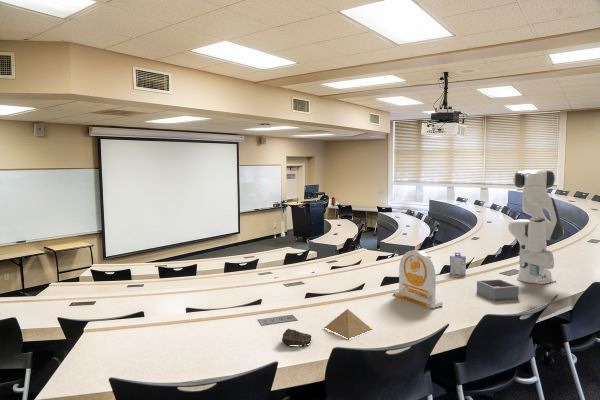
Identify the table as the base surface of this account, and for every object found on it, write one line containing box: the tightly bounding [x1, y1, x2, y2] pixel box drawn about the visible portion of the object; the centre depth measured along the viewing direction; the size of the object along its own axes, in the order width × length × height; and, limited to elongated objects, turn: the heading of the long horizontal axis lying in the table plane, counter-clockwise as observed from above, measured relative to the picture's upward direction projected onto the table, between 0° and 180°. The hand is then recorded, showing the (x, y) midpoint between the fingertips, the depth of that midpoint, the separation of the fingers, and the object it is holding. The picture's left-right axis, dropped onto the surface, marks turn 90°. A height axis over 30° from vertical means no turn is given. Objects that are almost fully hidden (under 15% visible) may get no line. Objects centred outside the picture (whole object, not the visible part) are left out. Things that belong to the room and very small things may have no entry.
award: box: [392, 249, 444, 309], centre depth 216 cm, size 28×9×28 cm, turn 29°
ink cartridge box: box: [449, 252, 467, 276], centre depth 271 cm, size 10×6×14 cm, turn 78°
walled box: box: [476, 278, 520, 302], centre depth 223 cm, size 15×15×7 cm
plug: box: [530, 264, 542, 279], centre depth 214 cm, size 4×4×7 cm
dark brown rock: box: [281, 328, 312, 346], centre depth 163 cm, size 12×10×5 cm
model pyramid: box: [323, 308, 373, 339], centre depth 177 cm, size 17×17×10 cm
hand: (535, 273), depth 214 cm, fingers closed on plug, 4 cm apart
